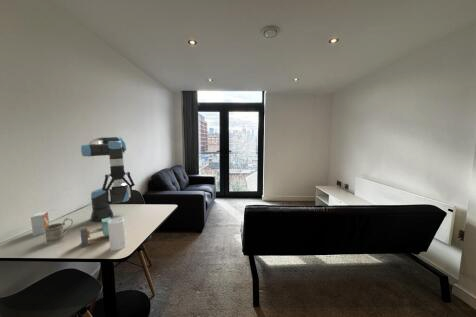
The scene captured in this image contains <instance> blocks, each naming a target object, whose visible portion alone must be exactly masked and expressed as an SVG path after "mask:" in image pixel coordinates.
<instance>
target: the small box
mask: <svg viewBox="0 0 476 317" xmlns="http://www.w3.org/2000/svg"><path fill="white" fill-rule="evenodd" d="M30 221H31V228H32V236H33V237H35V236H40V235H46V232H45V227H47V226H49V225H50V220H49V212H48V211H42V212H36V213H35V214H33V215H31V216H30Z"/></svg>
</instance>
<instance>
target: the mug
mask: <svg viewBox="0 0 476 317" xmlns="http://www.w3.org/2000/svg"><path fill="white" fill-rule="evenodd" d="M69 220H70V221H71V224H70V225H69V226H68V227H66V228H65V229H64V226H65V225H66V223H65V222H66V221H69ZM73 222H74V221H73V219H71V218H69V217H66V218H64V220H63V222H59V223H54V224H49V226H47V227H45V232H46V233H45V238H46V241H45V242H44V245H45V246H53V245H57V244H60V243H62V242H64V241H66V239H67V237H66V236H65V232H66V231H67V229H69V228H70V227H72V225H73Z"/></svg>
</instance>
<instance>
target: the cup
mask: <svg viewBox="0 0 476 317" xmlns="http://www.w3.org/2000/svg"><path fill="white" fill-rule="evenodd" d="M108 231H109V240H108V241H109V249H110V251H119V250H122V249H124V248H126V246H127V235H126V224H125V218H124V217H113V218H111V220H109V221H108Z"/></svg>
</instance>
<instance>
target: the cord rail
mask: <svg viewBox="0 0 476 317" xmlns="http://www.w3.org/2000/svg"><path fill="white" fill-rule="evenodd" d="M79 230H80V231H79V232H80V239H81V240H80V241H81V248H87V247H90V246H93V245H96V244H100V243H104V242H106V241H109V235H108V236H105V237H104V235H103V234H102V235H100V236H97V237H93V238H91V236H90V235H93V234H97V233H100V232H101V233H102V232H103V228H102V227H100V228H95V229H92V230H90V228H89V227H88V228H87V226H82V227H80V228H79Z"/></svg>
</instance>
